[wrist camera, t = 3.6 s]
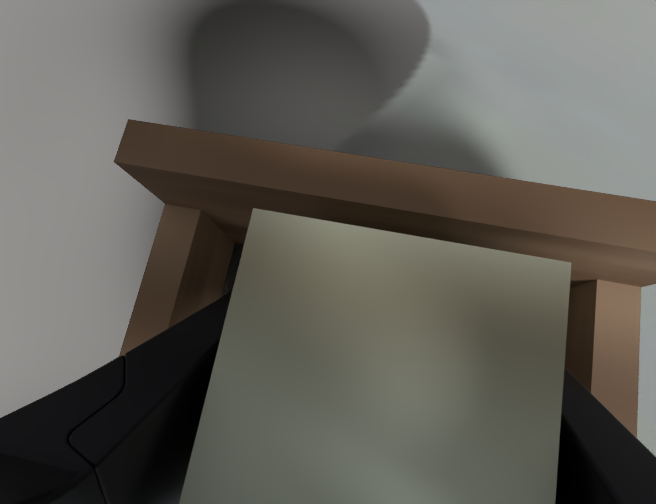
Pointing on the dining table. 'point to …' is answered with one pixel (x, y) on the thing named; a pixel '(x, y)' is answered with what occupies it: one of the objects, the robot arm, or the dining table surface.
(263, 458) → the sage block
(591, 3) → the dining table surface
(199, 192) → the walnut u-shaped frame
